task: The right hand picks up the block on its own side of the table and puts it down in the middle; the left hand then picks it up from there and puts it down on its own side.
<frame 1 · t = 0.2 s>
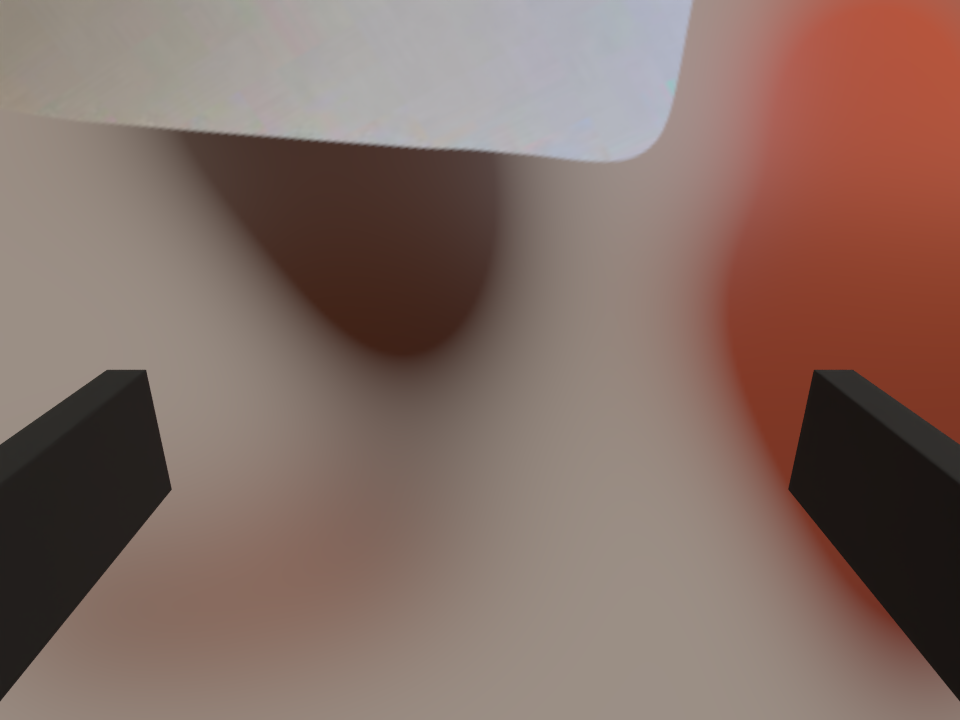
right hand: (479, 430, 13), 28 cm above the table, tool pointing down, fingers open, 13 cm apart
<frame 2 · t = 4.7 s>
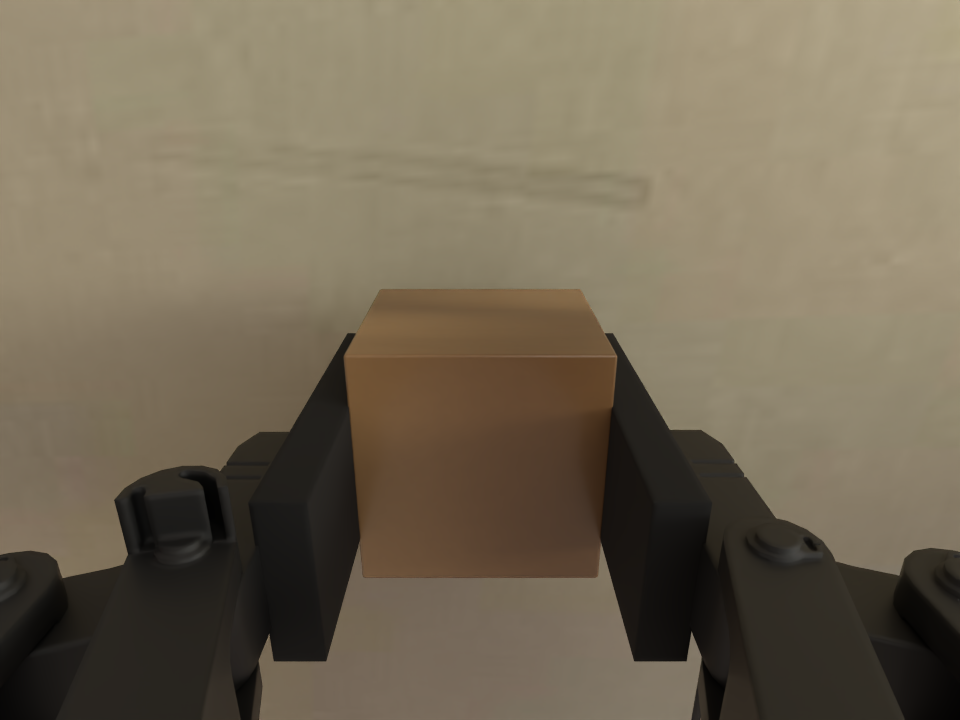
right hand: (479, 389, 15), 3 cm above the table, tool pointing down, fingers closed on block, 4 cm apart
block: (480, 382, 15), point 3 cm above the table, touching right hand
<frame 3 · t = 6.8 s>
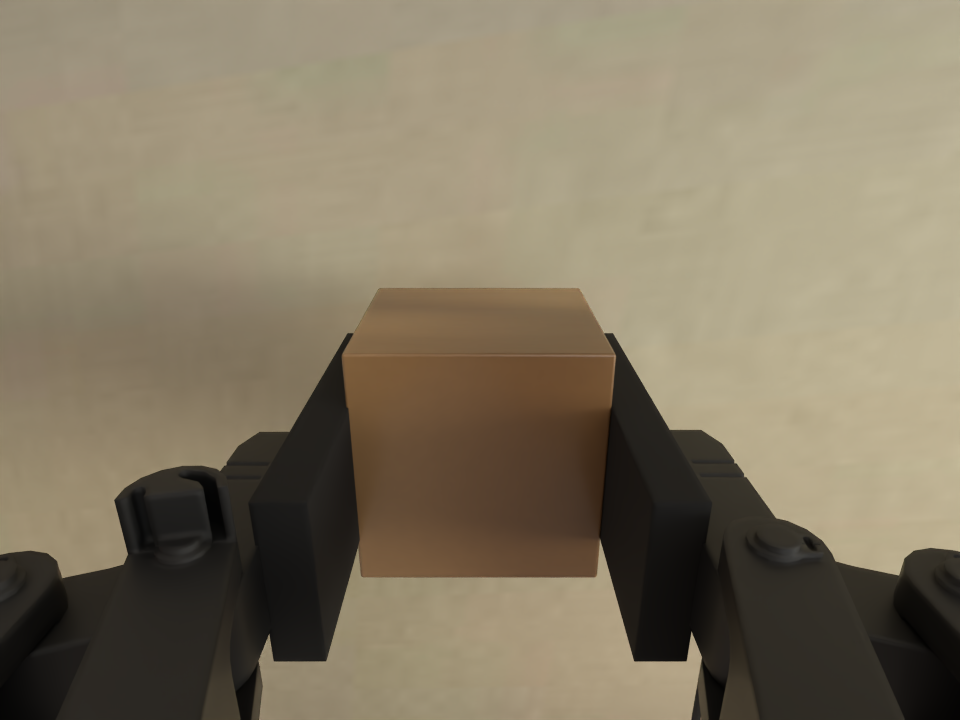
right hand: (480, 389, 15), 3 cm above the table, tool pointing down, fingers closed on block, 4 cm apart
block: (479, 381, 15), point 3 cm above the table, touching right hand
when the right hand's fingers open (0 cm above the table, at t = 9.2 s): block stays where it is, on the table.
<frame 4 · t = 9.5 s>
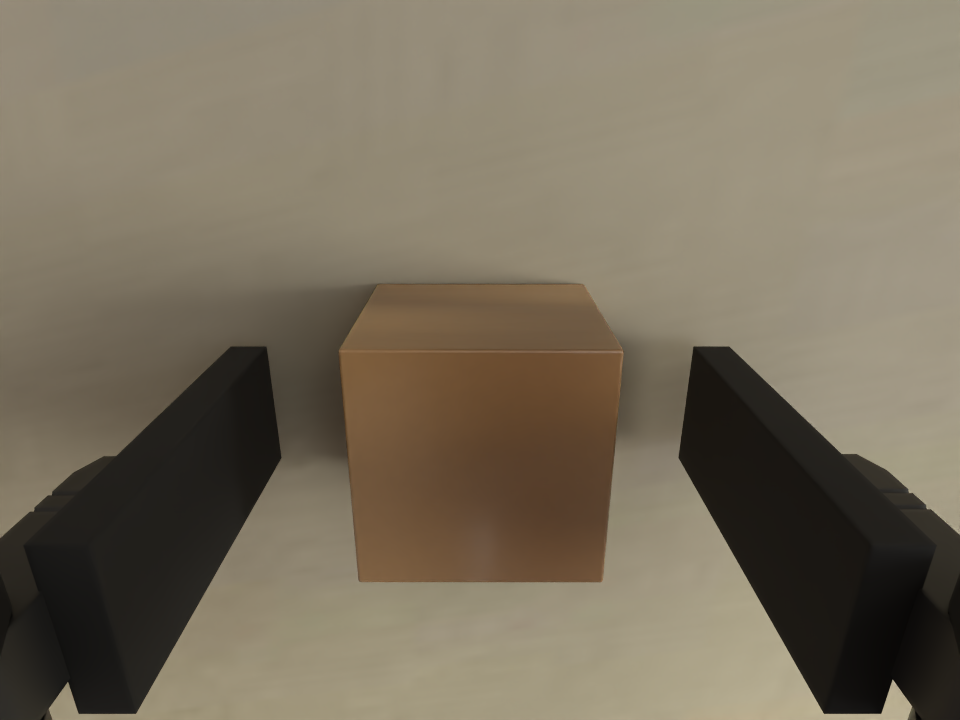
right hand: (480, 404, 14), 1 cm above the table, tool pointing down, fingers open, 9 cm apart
block: (480, 380, 14), on the table
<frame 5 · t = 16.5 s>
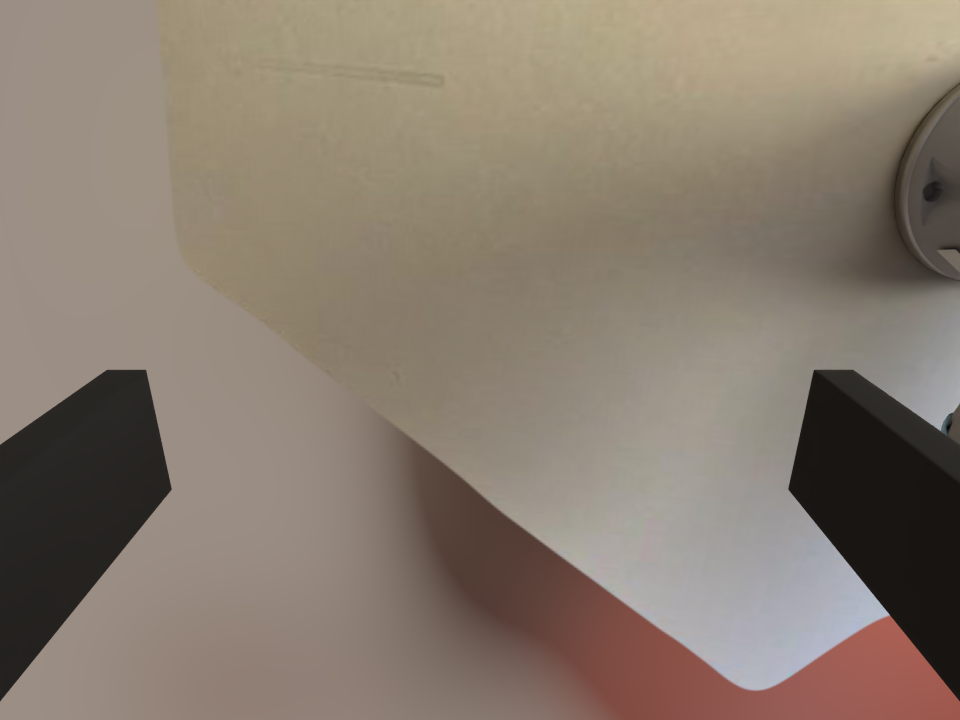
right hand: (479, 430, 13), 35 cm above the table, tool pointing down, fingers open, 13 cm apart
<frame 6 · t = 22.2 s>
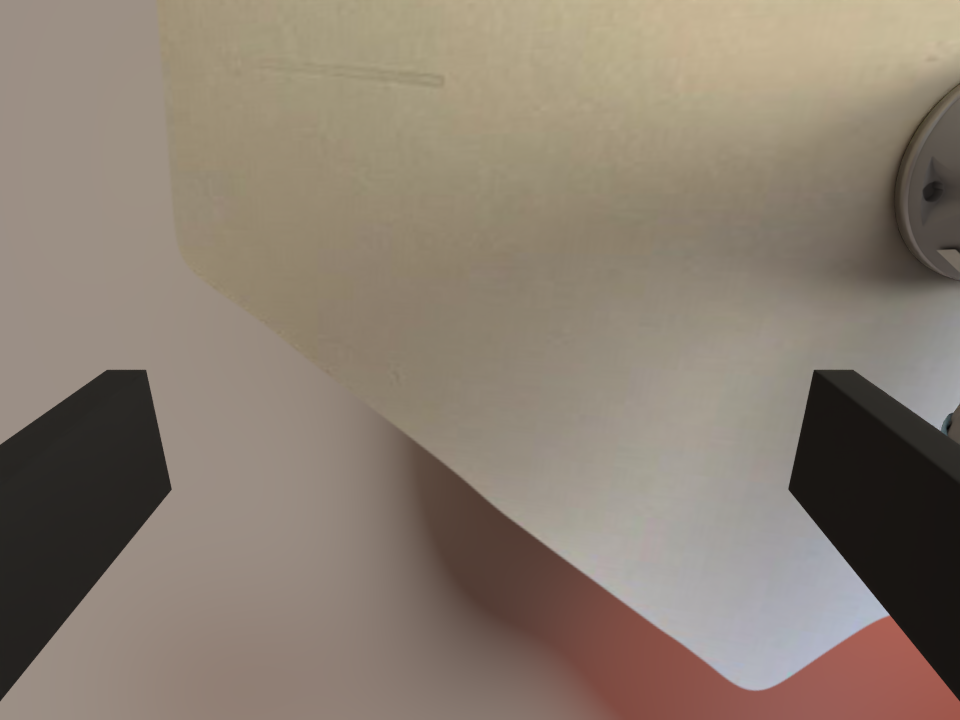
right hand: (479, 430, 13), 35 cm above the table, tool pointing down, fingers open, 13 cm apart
when the left hand's fingers open (1 cm above the table, at t = 28.4 s): block stays where it is, on the table.
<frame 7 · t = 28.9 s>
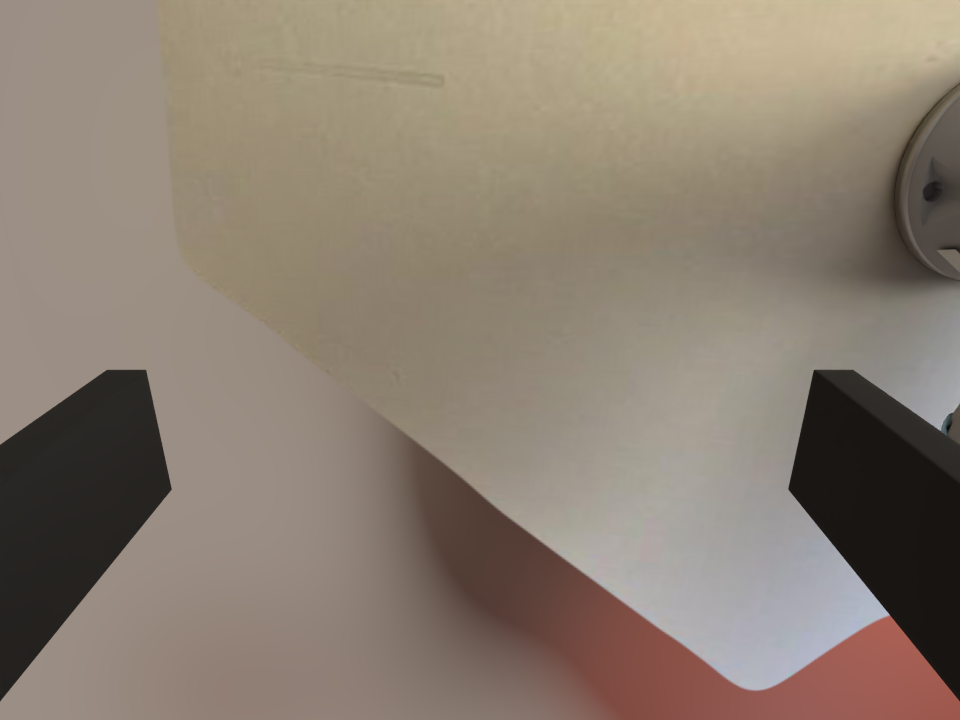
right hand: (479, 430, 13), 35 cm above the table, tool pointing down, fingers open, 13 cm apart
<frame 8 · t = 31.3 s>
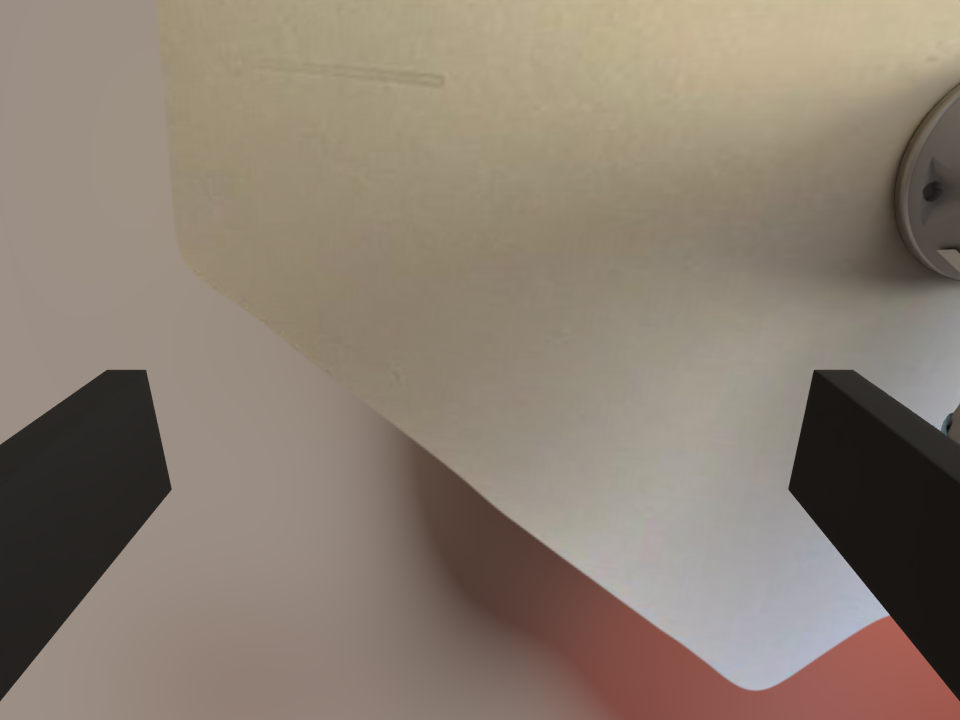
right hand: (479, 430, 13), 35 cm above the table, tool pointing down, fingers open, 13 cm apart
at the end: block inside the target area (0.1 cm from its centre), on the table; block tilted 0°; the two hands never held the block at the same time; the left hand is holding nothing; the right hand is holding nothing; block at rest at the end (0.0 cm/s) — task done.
